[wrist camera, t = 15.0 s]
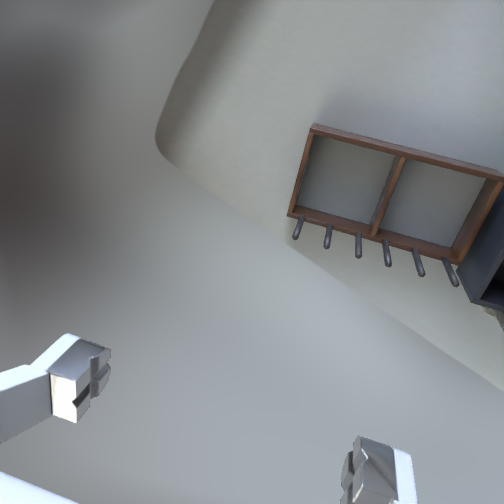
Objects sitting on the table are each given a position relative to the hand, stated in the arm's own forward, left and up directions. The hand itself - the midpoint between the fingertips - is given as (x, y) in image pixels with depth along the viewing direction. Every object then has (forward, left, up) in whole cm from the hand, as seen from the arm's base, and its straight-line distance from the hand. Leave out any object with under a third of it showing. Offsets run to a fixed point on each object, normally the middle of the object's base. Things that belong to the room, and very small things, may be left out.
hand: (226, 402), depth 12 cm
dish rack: (+1, +7, -33) cm, 34 cm away
